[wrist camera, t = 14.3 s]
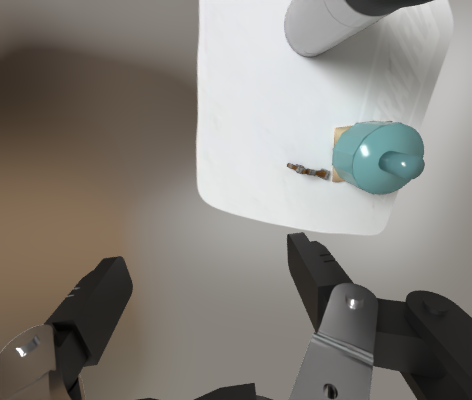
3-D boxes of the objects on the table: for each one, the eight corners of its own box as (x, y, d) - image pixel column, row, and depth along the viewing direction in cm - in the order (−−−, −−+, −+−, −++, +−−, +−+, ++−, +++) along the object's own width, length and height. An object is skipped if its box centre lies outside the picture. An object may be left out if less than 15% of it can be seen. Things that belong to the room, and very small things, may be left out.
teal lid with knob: (333, 125, 42) (377, 131, 30) (395, 118, 42) (462, 120, 30) (331, 185, 46) (368, 210, 34) (387, 177, 46) (443, 200, 35)
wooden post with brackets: (285, 159, 43) (301, 166, 40) (313, 164, 48) (330, 171, 44) (282, 168, 44) (297, 176, 40) (310, 172, 48) (326, 180, 45)
